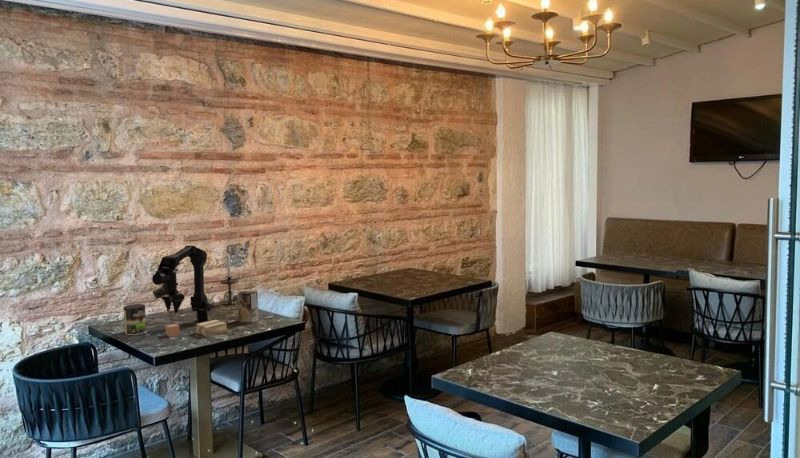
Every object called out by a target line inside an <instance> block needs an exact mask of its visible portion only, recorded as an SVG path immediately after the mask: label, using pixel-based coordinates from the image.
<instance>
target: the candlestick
mask: <svg viewBox="0 0 800 458" xmlns="http://www.w3.org/2000/svg"><path fill="white" fill-rule="evenodd" d="M226 252H227V253H226V254H227V255H226V268H227V269H226V270H227V276H226V278H227V279H222V280H220V282H219V284H220V285H227V287H228V291H227V294H228V295H227V296H228V299H227V300H225V301H223V302H222V305H223V306H234V305H237V304H238V300H233V299H232V296H233V295H232V293H233V291H232V286H231V285H234V284H237V283H239V279H236V278H235V279H233V278H232V277H233V276H232V272H231V257H230V256H231V255H230V253H229V249H228V248H227V249H226Z"/></svg>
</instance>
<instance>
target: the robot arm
mask: <svg viewBox="0 0 800 458" xmlns="http://www.w3.org/2000/svg"><path fill="white" fill-rule="evenodd" d="M188 257H189V259H190V264H191V265H192V266H193V279H194V280H193V283H194V286H193V290H194V292H193V295H192V296H190V302H189V303H190V306H191V310H192V312H196V320H194V322H195V323H196V324H198V323H202V322H207V321H211V319H209V315H208V312H210V311H211V310H212V304H210V302H209V301H208V297H207V295H206V293H205V285H204V284H205V280H204V279H205V278H204V277H205V276H204V273H205V272H204V270H205V268H204V266H205V264H206V263H207V259H208V254H207V252H206V251H205V250H204V249H202V248H198V247H196V246H195V245H185V246H184V247H182V248H181V249H179V250H178V251H176V252H174V253H173V254H168V255H164V256H163V257H162V258H161V260H160V262H159V265H158V268H157V270H156V271H155V273H154V274H153V276H152V278H151V281H152V284H154V285H156V286H159V285H162V286H161V287H159V288H157V289H155V290H153V291H152V294H153V295H154V298H157V299H162V301H163V302H164V305H165V308H166V311H170V309H171V306H172V307H173V312H174V314H178V311H179V309H180V307H181V304H182V302H183V301H184V300H185V297H186V296H185V295H184V294H183V293H181V292H179V290H178V286H179V282H177V272H178V271H179V268H177V267H178V266H179V265H180V263H181V261H183V260H185V259H187V258H188Z"/></svg>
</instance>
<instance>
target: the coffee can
mask: <svg viewBox="0 0 800 458" xmlns="http://www.w3.org/2000/svg"><path fill="white" fill-rule="evenodd" d="M123 317H124V318H123V319H124V335H125V334H126V336H129V335H133V336H140V335H143V333H144V334H145V333H147V332H148V331H147V320H146V317H147V316H146V304H144V303H136V304H135V303H134V304H129V305H124V306H123ZM139 334H140V335H139Z"/></svg>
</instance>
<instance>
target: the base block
mask: <svg viewBox="0 0 800 458" xmlns="http://www.w3.org/2000/svg"><path fill="white" fill-rule="evenodd" d="M195 328H196V330H195V331H196V334H198V335H201V336H203V337H211V336H216V335H220V334H224V333H225V332H226V333H228V330H227V328H228V327H227V322H224V321H221V320H218V319H213V320H210V321H207V322H202V323H196V324H195Z"/></svg>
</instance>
